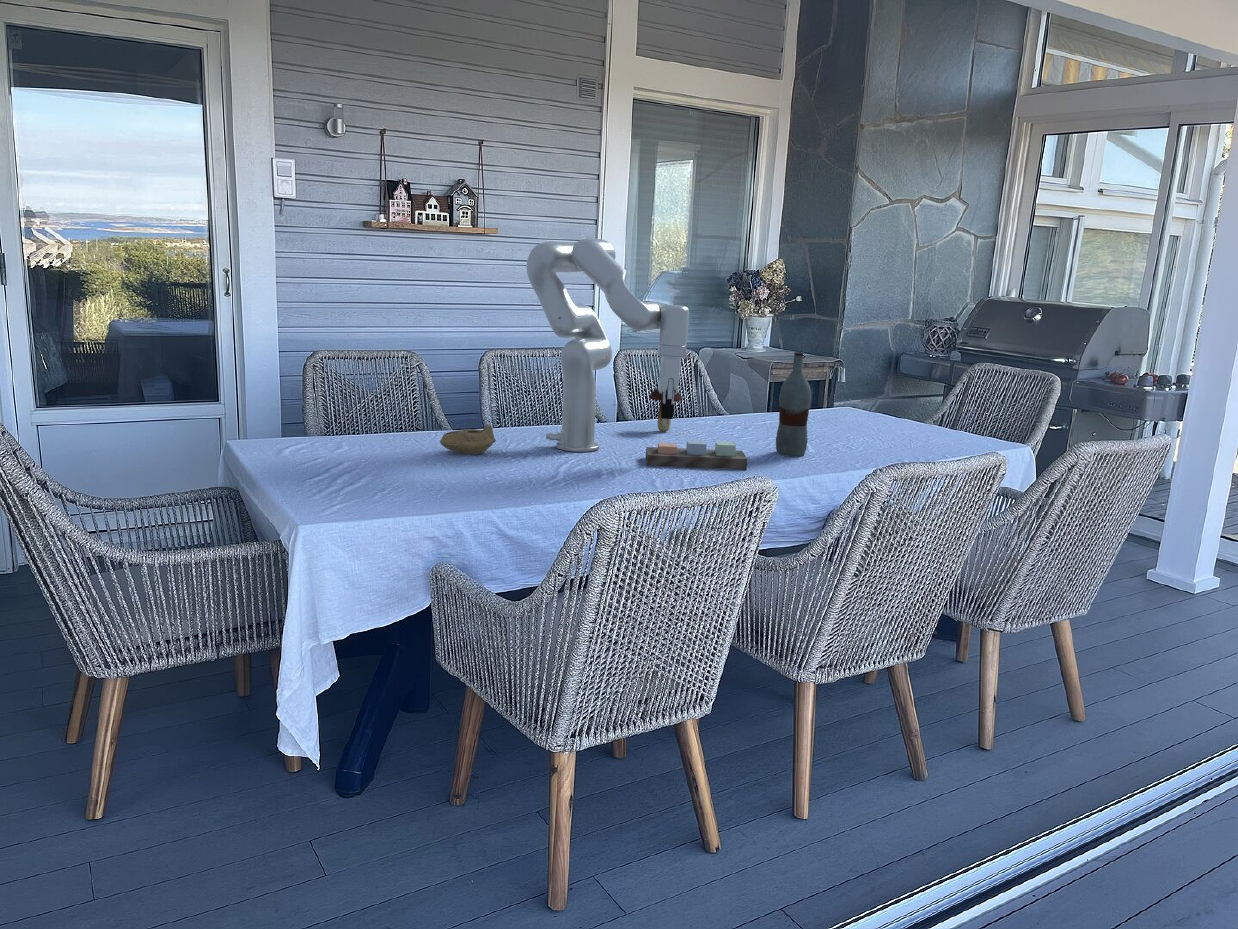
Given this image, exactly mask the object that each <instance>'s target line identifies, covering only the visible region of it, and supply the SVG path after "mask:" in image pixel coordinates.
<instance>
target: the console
mask: <svg viewBox="0 0 1238 929" xmlns="http://www.w3.org/2000/svg"><path fill="white" fill-rule="evenodd" d="M645 449H646V450H645V460H646V466H647V467H666V468H667V467H668V468H670V467H671V468H688V469H689V468H692V469H694V468H695V469H717V470H718V469H719V470H740V471H741V470H742V471H744V470H745V471H747V470H748V457H747V456H746V454H745V453H744V451H743V450H736V451H735V456H716V455H715V449H709V448H708V449H707V448H706V455H687V454H686V447H685V448H684V447H683V448H680V447H677V454H660V453H657V450H658V446H656V447H653V446H646V448H645Z"/></svg>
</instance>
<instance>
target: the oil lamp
mask: <svg viewBox="0 0 1238 929" xmlns="http://www.w3.org/2000/svg"><path fill="white" fill-rule="evenodd" d="M493 430H494V429H493V427H492V425H491V424H486V425H485V426H484V427H483V429H475V428H473V429H472V428H468V429H467V428H466V429H460V430H453V431H448V432H445V433H444V434H443V435H442V437H441V439H440V441H439V442H440V445H442V447H444V448H445V449H446V450H449V451H452V452H453V451H454V452H459V453H460V454H462V455H465V454H470V455H469V456H476V454H477V455H481V454H483V453H485V452H486V451H487V450H488V449H489V448H491V447H492V446H493V443H495V442H496V441H497V440H496V438H495V436H494V431H493Z"/></svg>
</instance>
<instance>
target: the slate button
mask: <svg viewBox="0 0 1238 929" xmlns="http://www.w3.org/2000/svg"><path fill="white" fill-rule="evenodd" d="M685 449H686V454H687V455H706V449H707V443H706V441H705V440H698V439H697V440H696V439H695V440H692V439H687V440H686V446H685Z"/></svg>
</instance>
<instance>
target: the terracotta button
mask: <svg viewBox="0 0 1238 929" xmlns="http://www.w3.org/2000/svg"><path fill="white" fill-rule="evenodd" d="M657 447H658V450H657V453H660V454H677V448H678V446H677V443H673V442H671V443H670V442H657Z"/></svg>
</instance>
